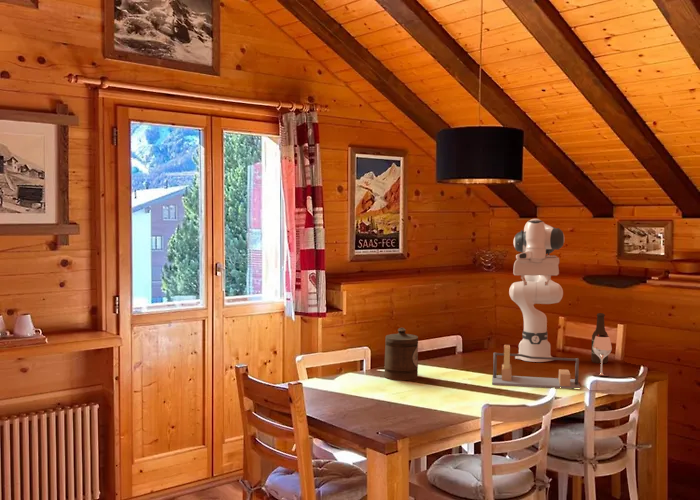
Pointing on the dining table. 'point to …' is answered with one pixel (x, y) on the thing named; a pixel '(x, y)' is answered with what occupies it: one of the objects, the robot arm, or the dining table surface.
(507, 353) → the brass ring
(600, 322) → the beer bottle
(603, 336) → the wineglass
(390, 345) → the wooden container
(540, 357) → the rod
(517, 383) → the stand
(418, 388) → the dining table surface
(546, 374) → the dining table surface
